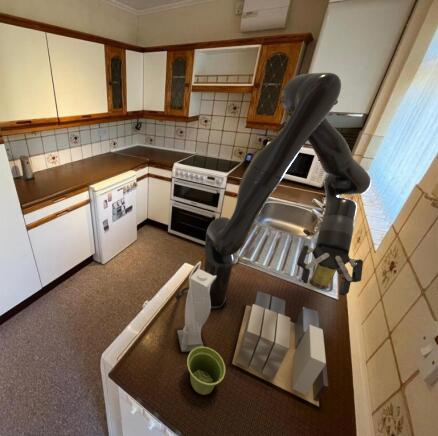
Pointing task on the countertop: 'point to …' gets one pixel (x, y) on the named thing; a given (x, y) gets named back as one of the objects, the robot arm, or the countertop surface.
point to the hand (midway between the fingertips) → (323, 288)
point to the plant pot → (205, 369)
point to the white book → (308, 359)
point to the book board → (275, 344)
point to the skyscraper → (196, 309)
